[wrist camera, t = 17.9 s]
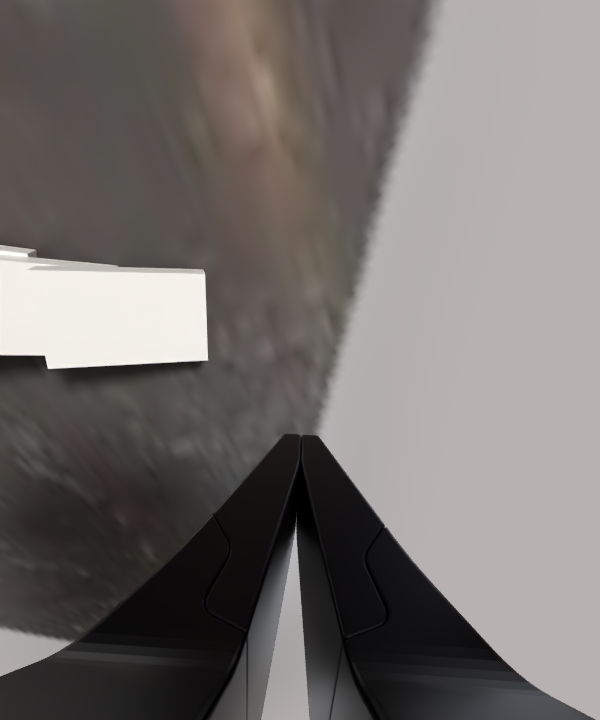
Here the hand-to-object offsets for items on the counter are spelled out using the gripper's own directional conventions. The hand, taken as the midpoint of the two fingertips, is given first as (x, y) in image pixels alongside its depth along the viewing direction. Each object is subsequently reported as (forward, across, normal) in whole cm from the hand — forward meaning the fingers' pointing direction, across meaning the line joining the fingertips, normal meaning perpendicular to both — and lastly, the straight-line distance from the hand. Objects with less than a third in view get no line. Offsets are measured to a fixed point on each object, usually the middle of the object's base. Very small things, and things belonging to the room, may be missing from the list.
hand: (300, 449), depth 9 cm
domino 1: (+12, +6, 0) cm, 14 cm away
